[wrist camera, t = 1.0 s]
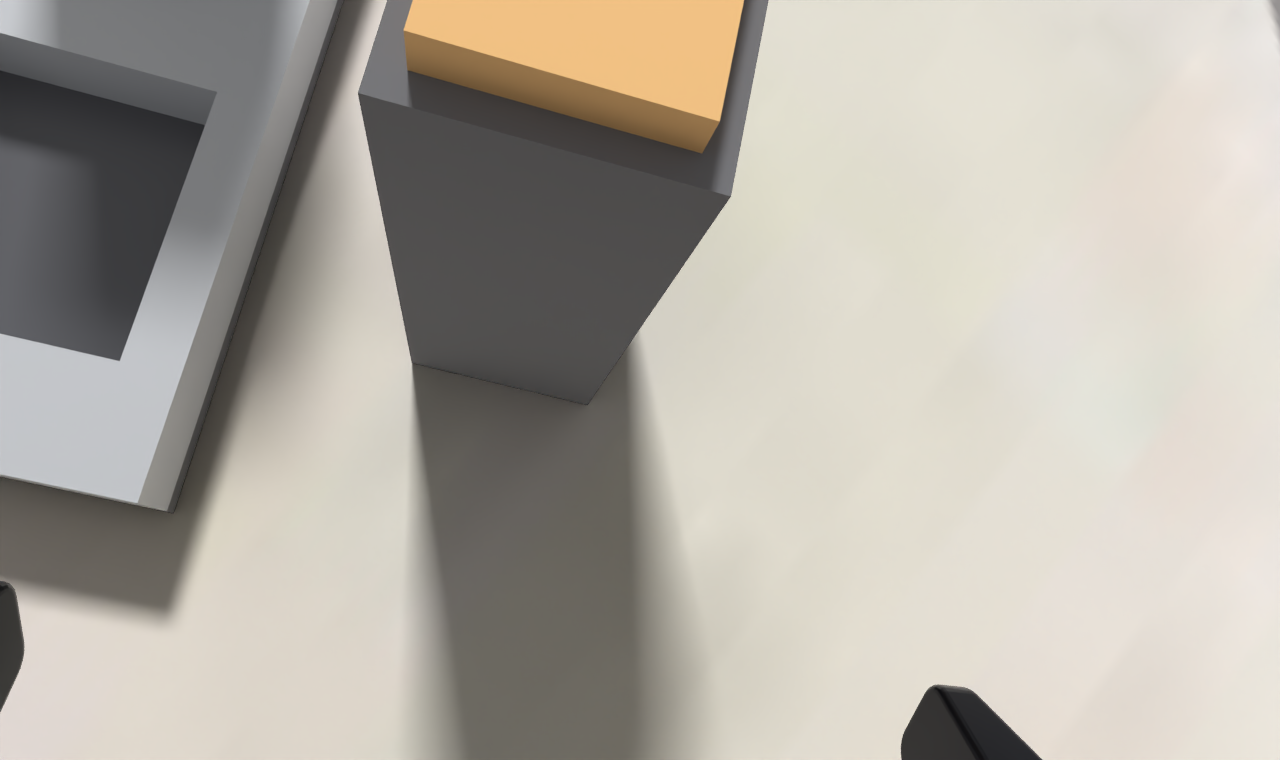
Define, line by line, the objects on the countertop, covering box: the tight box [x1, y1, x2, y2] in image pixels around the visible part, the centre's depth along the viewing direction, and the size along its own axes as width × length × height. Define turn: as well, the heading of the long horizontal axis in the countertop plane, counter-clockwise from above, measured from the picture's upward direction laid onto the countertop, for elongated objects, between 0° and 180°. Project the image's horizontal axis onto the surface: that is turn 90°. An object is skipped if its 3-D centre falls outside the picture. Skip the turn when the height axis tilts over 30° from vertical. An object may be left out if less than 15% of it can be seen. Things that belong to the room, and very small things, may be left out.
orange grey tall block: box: [358, 0, 768, 405], centre depth 17 cm, size 4×4×14 cm
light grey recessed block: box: [0, 0, 344, 513], centre depth 22 cm, size 22×9×2 cm, turn 168°
